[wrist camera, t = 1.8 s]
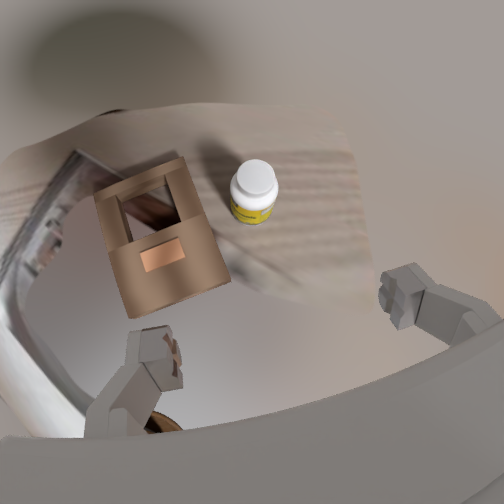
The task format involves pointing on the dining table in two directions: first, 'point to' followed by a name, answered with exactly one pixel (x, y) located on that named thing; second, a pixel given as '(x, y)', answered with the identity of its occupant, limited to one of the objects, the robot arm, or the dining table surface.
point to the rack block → (160, 243)
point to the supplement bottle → (253, 192)
